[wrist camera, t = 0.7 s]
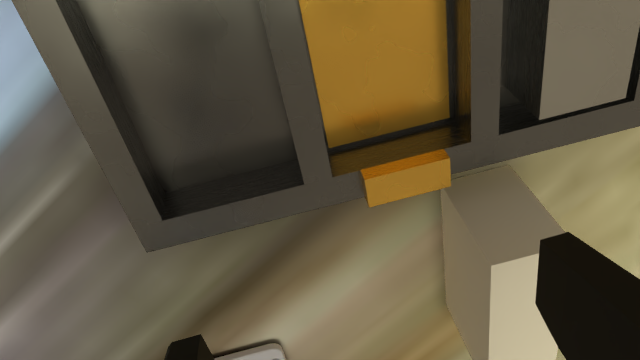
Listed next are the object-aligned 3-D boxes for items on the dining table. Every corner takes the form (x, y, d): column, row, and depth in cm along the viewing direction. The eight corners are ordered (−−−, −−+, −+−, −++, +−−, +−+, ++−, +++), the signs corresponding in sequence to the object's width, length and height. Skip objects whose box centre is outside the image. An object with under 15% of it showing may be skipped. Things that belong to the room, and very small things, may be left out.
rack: (619, 97, 21) (669, 134, 19) (151, 217, 20) (145, 269, 18) (695, -305, 14) (790, -323, 12) (-28, -141, 13) (-74, -127, 11)
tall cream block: (502, 288, 27) (553, 373, 23) (445, 303, 27) (487, 391, 23) (507, 163, 22) (574, 243, 18) (439, 181, 22) (491, 265, 18)
